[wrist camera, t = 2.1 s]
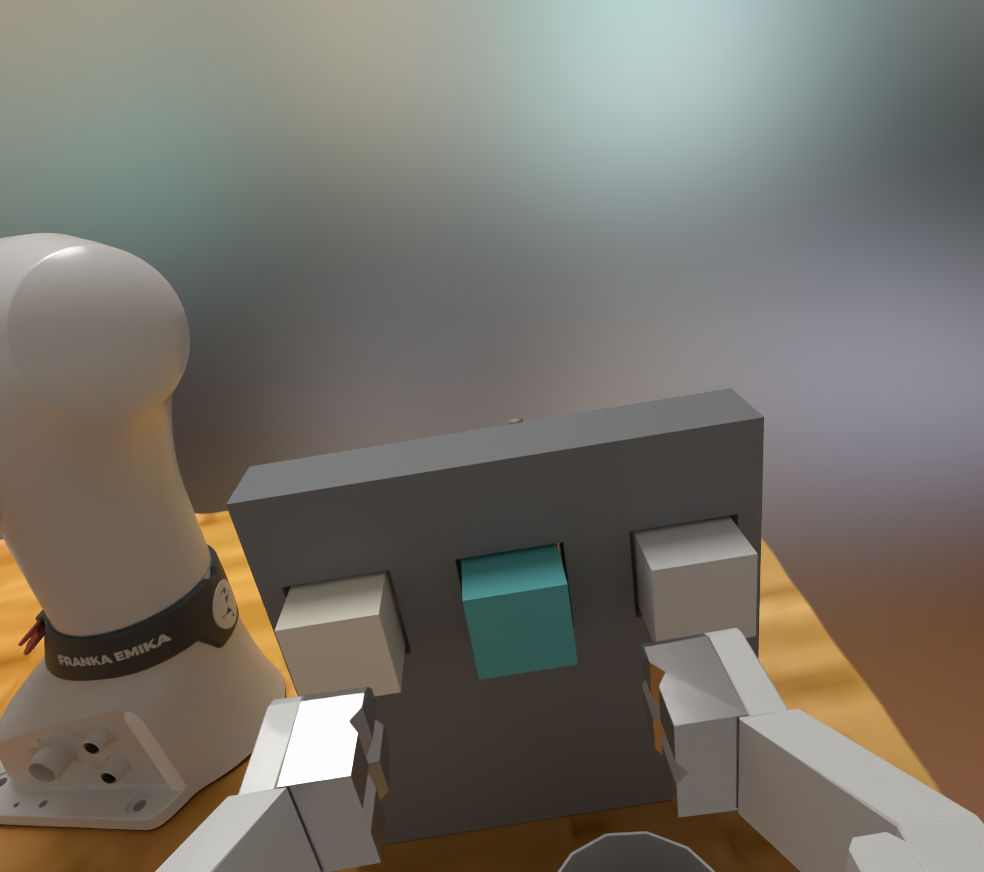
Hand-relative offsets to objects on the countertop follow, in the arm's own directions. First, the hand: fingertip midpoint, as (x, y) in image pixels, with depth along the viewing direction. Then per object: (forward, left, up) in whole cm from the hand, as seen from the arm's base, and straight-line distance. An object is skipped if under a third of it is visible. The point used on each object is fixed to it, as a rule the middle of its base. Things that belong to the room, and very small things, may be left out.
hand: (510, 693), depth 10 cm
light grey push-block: (+9, +20, -17) cm, 28 cm away
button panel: (0, +22, -32) cm, 39 cm away
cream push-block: (-9, +20, -16) cm, 28 cm away
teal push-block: (0, +20, -16) cm, 26 cm away
